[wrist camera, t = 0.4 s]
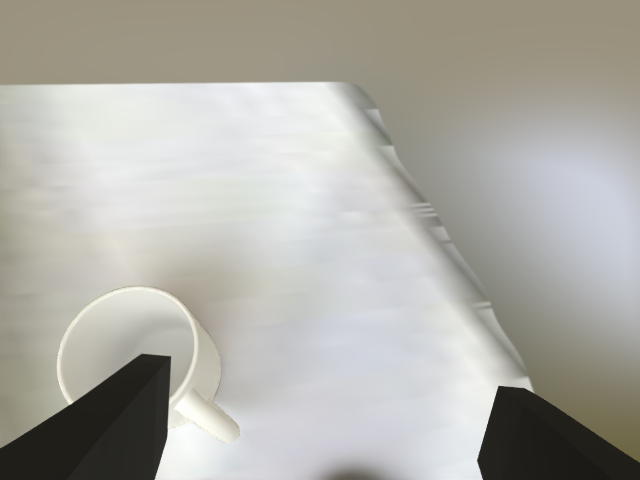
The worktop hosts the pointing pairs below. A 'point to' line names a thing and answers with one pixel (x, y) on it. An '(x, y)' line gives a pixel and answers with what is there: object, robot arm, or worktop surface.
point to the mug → (146, 338)
